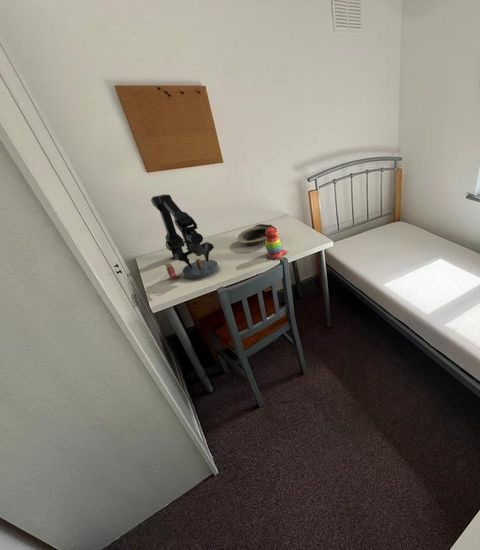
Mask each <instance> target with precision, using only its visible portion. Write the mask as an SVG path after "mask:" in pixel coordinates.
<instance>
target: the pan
mask: <svg viewBox="0 0 480 550" xmlns="http://www.w3.org/2000/svg"><path fill="white" fill-rule="evenodd" d="M218 270H219V266H217V267H216V268H215V269H214V270H213V271H211V272H209V273H206V274H203V275H198V276H187V275H185V274H184V276H185V278H186V279H188V280H192V281H193V280H195V281H197V280H202V279H207V278H209V277H211V276H213V275H215V274H216V273H217V272H218Z"/></svg>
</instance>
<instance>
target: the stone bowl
mask: <svg viewBox="0 0 480 550" xmlns="http://www.w3.org/2000/svg"><path fill="white" fill-rule="evenodd" d="M270 227H272V228H274V229H276V230H277V228H276V227H275V226H274V225H272V224H264V223H259V224H255V225H254V226H253V227H249V228H246V229H245V230H243V231H242V232H240V233H239V234H238V235H237V241H238V242H240V243H243V244H246V245H247V246H249V247H254V246H259V245H263V244H264V243H265V241H266V238H267V236H266V234H265V231H266V230H267V229H268V228H270ZM277 231H278V230H277Z"/></svg>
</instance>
